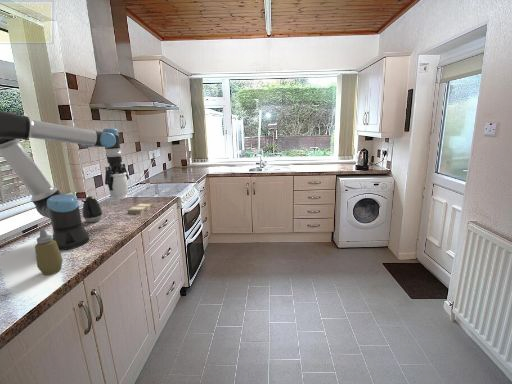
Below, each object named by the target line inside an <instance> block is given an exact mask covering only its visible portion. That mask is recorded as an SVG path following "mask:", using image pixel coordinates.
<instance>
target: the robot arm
mask: <svg viewBox="0 0 512 384" xmlns="http://www.w3.org/2000/svg"><path fill="white" fill-rule="evenodd" d="M29 139H38V140H43V141H44V140H45V141H53V142H61V143H62V142H63V143H67V144H68V143H69V144H77V145H81V146H82V147H83V148H105V155H106V156H107V157H106V160H107V164H108V165H109V166H104V168H105V176H104V177H105V178H104V184H105V185H106V186H107V187H108V186H109V187H108V191H109V195H110V196H111V197H113V196H115V189H114V185H112V184H113V177H111V175H113V174H116V172H118V173H119V174H123V172H126V173H127V174H126V177H127V180H128V181H129V179H130V178H129V174H128V171H127V168H126V164H125V163H123V158H122V151H121V143H120V135H119V131H118V129H117V128H103V129H102V131H98V130H92V129H86V128H81V127H77V126H70V125H65V124H64V125H63V124H56V123H53V122H46V121H41V120H40V121H39V120H36V119H31V118H30V117H29V116H26V115H21V114H16V113H11V112H8V111H4V110H0V155H1V157H2V158H3V159H4V160H5V161H6V163H7V165H8V166H9V167H10V168H11V170H12V172H13V173H14V174H15V175H16V176H17V178H18V179H19V180H20V181H21V183H22V184H23V185H24V187H26V190H27V191H28V192H29V194H30V195H31V199H30V201H31V202H32V204H34V206H35V209H36V211H37V212H38V214H39V215H41V216H42V217H44V218H48V219H49V220H50V222H51V226H52V230H53V231H52V240H55V241H56V243H57V245H58V248H59V251H64V250H69V249H70V250H71V249H75V248H78V247H80V246H84V245H85V244H87V243H88V242H89V241H90V235H89V233H87V231H86V229H85V227H84V226H83V222H82V216H81V211H80V206H79V201H78V197H76V196H75V195H74V194H70V193H69V194H67V193H61V192H60V190H59V189H58V188H57V187H54V186H52V185H51V183H50V182H49V180H47V178H46V177H45V175H44V174H43V172H42V171H41V169H40V167H38V165H37V164H36V162H35V161H34V159H33V158H32V157H31V156H30V154H29V152H28V151H27V149H25V147H24V146H23V144H22V143H21V140H26V141H27V140H29ZM110 182H111V183H110Z"/></svg>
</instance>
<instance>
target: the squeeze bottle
mask: <svg viewBox="0 0 512 384" xmlns="http://www.w3.org/2000/svg"><path fill="white" fill-rule="evenodd" d="M52 239H53V235H51V234H48V232H47V231H46V229H45V227H41V228H39V236H38V237H37V238H36V242H37V243H36V244H35V246H34V248H35V250H34V251H35V258H36V267H37V268H38V270H39V271H40V272H41V274H42V275H44V276H50V275H53V274H56V273H58V272H59V271H61V269H62V266H63V257H62V254H61V250H59V248H58V245H57V243H56V241H55V240H52Z"/></svg>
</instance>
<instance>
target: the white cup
mask: <svg viewBox="0 0 512 384" xmlns="http://www.w3.org/2000/svg"><path fill="white" fill-rule="evenodd" d="M126 174H128V172H127V173H126V172H123V174H119V173H118V172H116V174H113V175H111V177H113V184H112V185H114V189H115V196H111V200H118V201H119V200H124V199H127V198H128V192H129V191H128V189H129V179H128V180H127V177H126ZM110 183H111V182H110ZM107 187H108V188H109V186H108V185H107Z"/></svg>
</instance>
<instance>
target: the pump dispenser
mask: <svg viewBox="0 0 512 384" xmlns="http://www.w3.org/2000/svg"><path fill="white" fill-rule="evenodd" d="M81 203H83V204H82V218H83V219H84V220H85V222H88V223H96V222H98V221H100V220H102V218H103V209H102V207H101V205H100V203H99V201H98V200H97V199H96V197H94V196H92V195H91V196H87V197H85V199H81Z"/></svg>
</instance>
